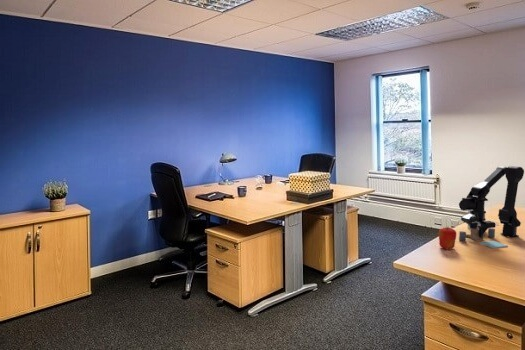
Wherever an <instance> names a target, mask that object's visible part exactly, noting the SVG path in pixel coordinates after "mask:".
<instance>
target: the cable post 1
mask: <svg viewBox="0 0 525 350" xmlns="http://www.w3.org/2000/svg"><path fill="white" fill-rule="evenodd" d="M458 238H459V240H458V241H459V242H462V243H463V242H465V243H466V242H467V240H466V239H467V232H466V231H463V230H462V231H459V236H458Z"/></svg>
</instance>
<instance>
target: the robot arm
mask: <svg viewBox="0 0 525 350" xmlns="http://www.w3.org/2000/svg"><path fill="white" fill-rule="evenodd" d="M524 174H525V169H524V168H523V167H521V166H514V165H509V166H503V165H502V166H501V165H500V166H497V167H496V169H495V170H494V171H493V172H492V173H491V174H490V175H489V176H487V177H486V178H485V179H484V180H483V181H481V182H480V183H477V184H475V185H473V186H472V187H471V189H470V191H469V193H468V194H467V195H466V197H462V198H461V200H459V201H460V202H459V203H458V207H459V209H460V210H461V211H468V210H470V214H468V213H467V214H465V215H462V216H461V218H460V220H461V221H462V222H463V223H465V224H467V226H468V225H469V226H470V229H471V228H476V227H478V228H479V237H480V238H482V236H483V235H484V234H485V233H486V231H488V228H493V229H496V222H495V221H491V220H486V217H485V218H484V213H485V214H487V212H486V210H485V205H486V204H485V203H486V202H488V201H489V199H488V198H487V196H488V194H489V193H490V191H491V188H492V187H493V186H494V185H495V184H496V183H497V182H499V181H500V180H501V179H502V178H503V177H504V176H505V179H506V180H507V184H506V192H505V198H504V204H503V205H504V206H503V207H502V208H499V209H498V214H497V217H498V219H499V222H500V224H503V225H502V232H500V235H501V236H505V237H508V238H513V237H515V238H516V237H519V234H517V231H518V229H517V228H518V227H520V226H521V225H522V224H521V223H522V222H521V221H520V220H519V219H518V212H517V210H516V208H515V207H516V199H517V193H518V187H519V184H520V182H521V180H522V179H523V177H524ZM484 210H485V211H484ZM478 223H479V224H481V225H480V226H477V225H478ZM470 229H469V230H470ZM484 236H485V235H484Z"/></svg>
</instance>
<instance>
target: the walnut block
mask: <svg viewBox="0 0 525 350" xmlns="http://www.w3.org/2000/svg"><path fill="white" fill-rule="evenodd" d="M484 237H485V235H483V236H482V238H480V237H479V228H478V227H476V228H471V230H470V237H469V238H470V239H471V240H473V241H476V242H477V241H479V242H480V241H484V240H485V239H484Z"/></svg>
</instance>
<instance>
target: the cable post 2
mask: <svg viewBox="0 0 525 350" xmlns="http://www.w3.org/2000/svg"><path fill="white" fill-rule="evenodd" d="M495 235H496V228H488V229H487V238H488V239H495Z"/></svg>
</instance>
